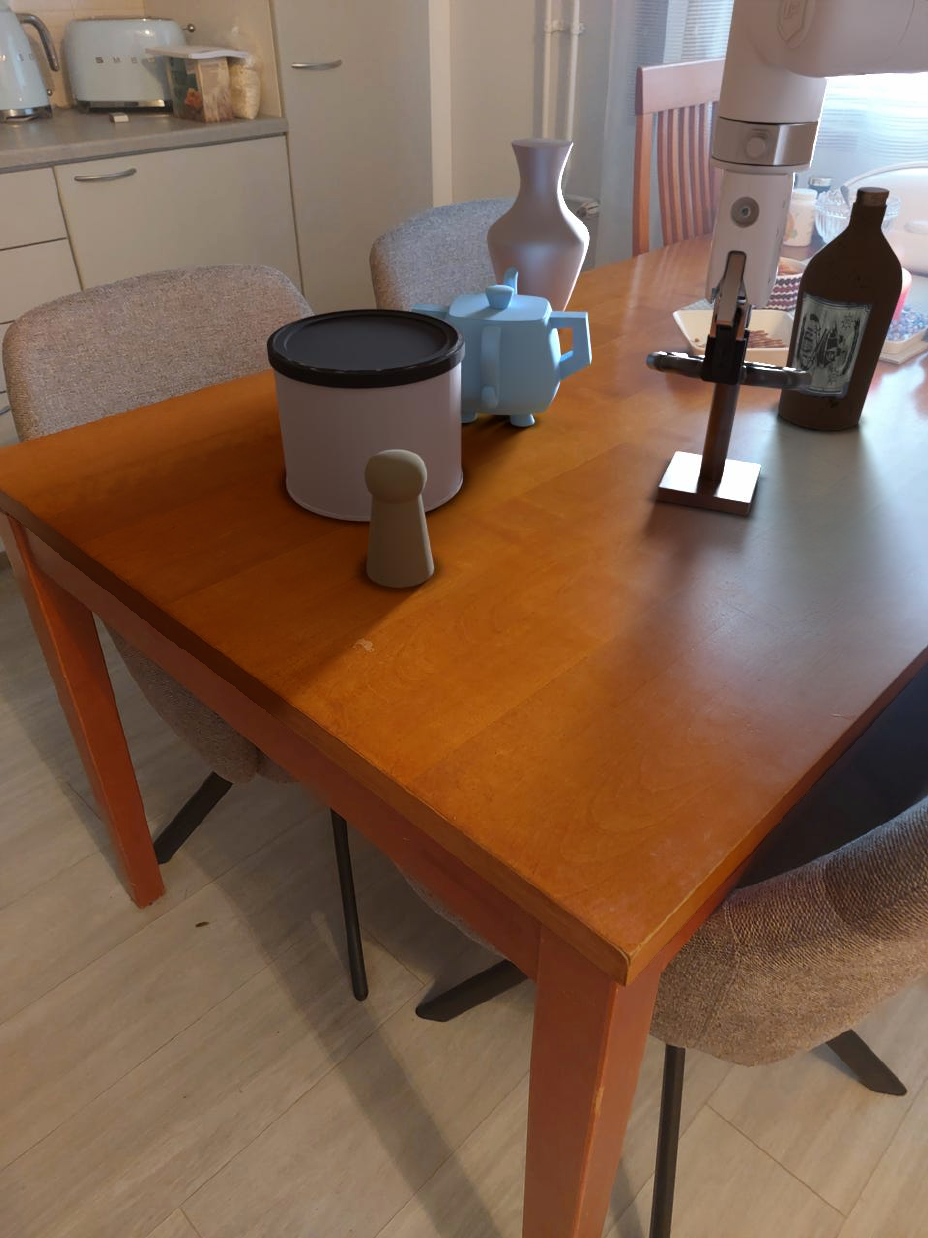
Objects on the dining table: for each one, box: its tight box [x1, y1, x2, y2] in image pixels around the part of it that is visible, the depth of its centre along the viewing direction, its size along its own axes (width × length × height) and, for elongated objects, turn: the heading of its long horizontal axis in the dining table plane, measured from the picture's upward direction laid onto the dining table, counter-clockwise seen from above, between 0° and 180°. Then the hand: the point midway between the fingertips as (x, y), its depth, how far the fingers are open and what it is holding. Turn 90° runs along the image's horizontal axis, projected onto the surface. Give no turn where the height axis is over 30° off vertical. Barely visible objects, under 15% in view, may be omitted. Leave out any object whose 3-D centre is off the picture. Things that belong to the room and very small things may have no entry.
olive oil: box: [777, 186, 903, 431], centre depth 100 cm, size 11×11×25 cm
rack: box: [656, 383, 762, 517], centre depth 89 cm, size 9×9×12 cm
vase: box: [486, 137, 590, 312], centre depth 127 cm, size 14×14×25 cm
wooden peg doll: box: [364, 449, 435, 589], centre depth 77 cm, size 6×6×11 cm
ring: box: [645, 351, 812, 390], centre depth 85 cm, size 15×15×2 cm
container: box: [266, 308, 465, 522], centre depth 90 cm, size 19×19×15 cm
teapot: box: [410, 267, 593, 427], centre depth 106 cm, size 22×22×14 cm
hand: (721, 376), depth 79 cm, fingers closed on ring, 1 cm apart
